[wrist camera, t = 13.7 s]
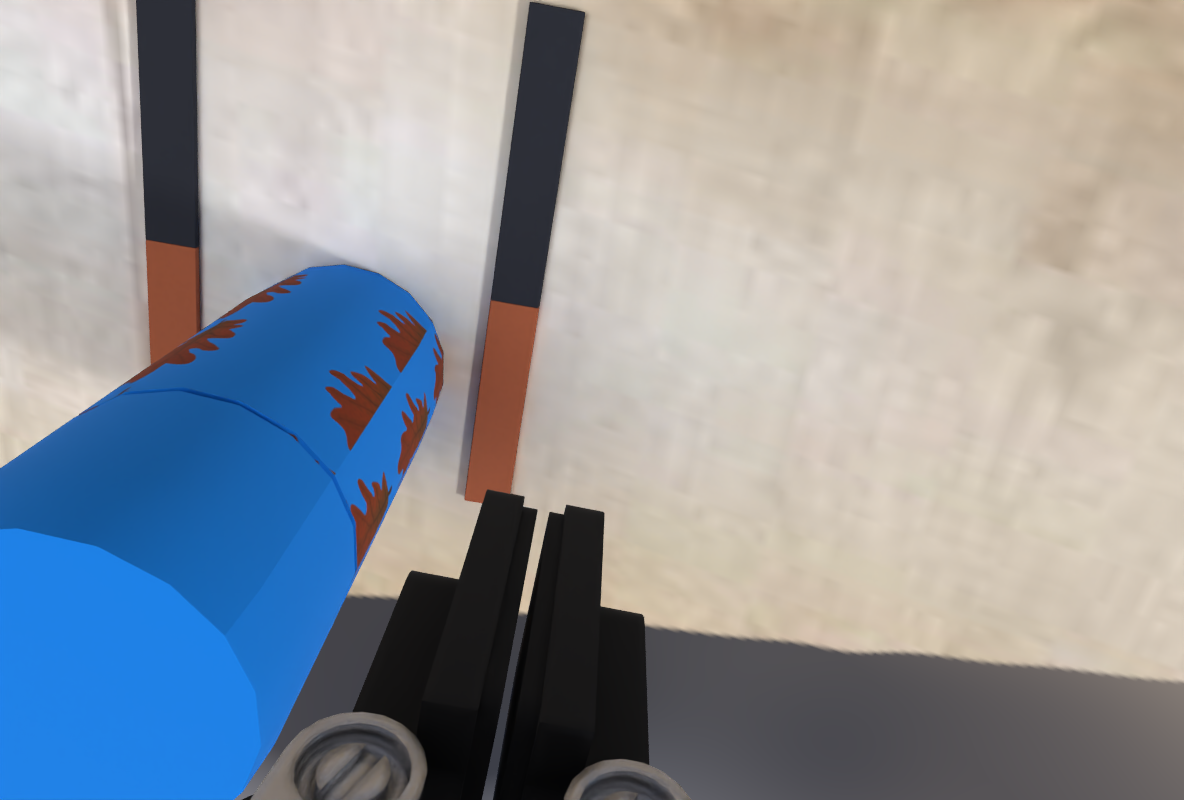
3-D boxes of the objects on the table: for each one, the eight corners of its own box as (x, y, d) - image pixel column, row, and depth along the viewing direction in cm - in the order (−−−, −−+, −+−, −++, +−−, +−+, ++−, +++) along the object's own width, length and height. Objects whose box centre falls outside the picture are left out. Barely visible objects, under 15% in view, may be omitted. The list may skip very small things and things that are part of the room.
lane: (137, -75, 36) (132, -76, 36) (585, 12, 37) (585, 12, 37) (157, 446, 46) (153, 449, 46) (508, 503, 47) (507, 507, 47)
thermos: (236, 423, 45) (-147, 805, 22) (255, 237, 41) (-191, 473, 18) (428, 469, 46) (250, 883, 23) (466, 292, 42) (293, 583, 19)
